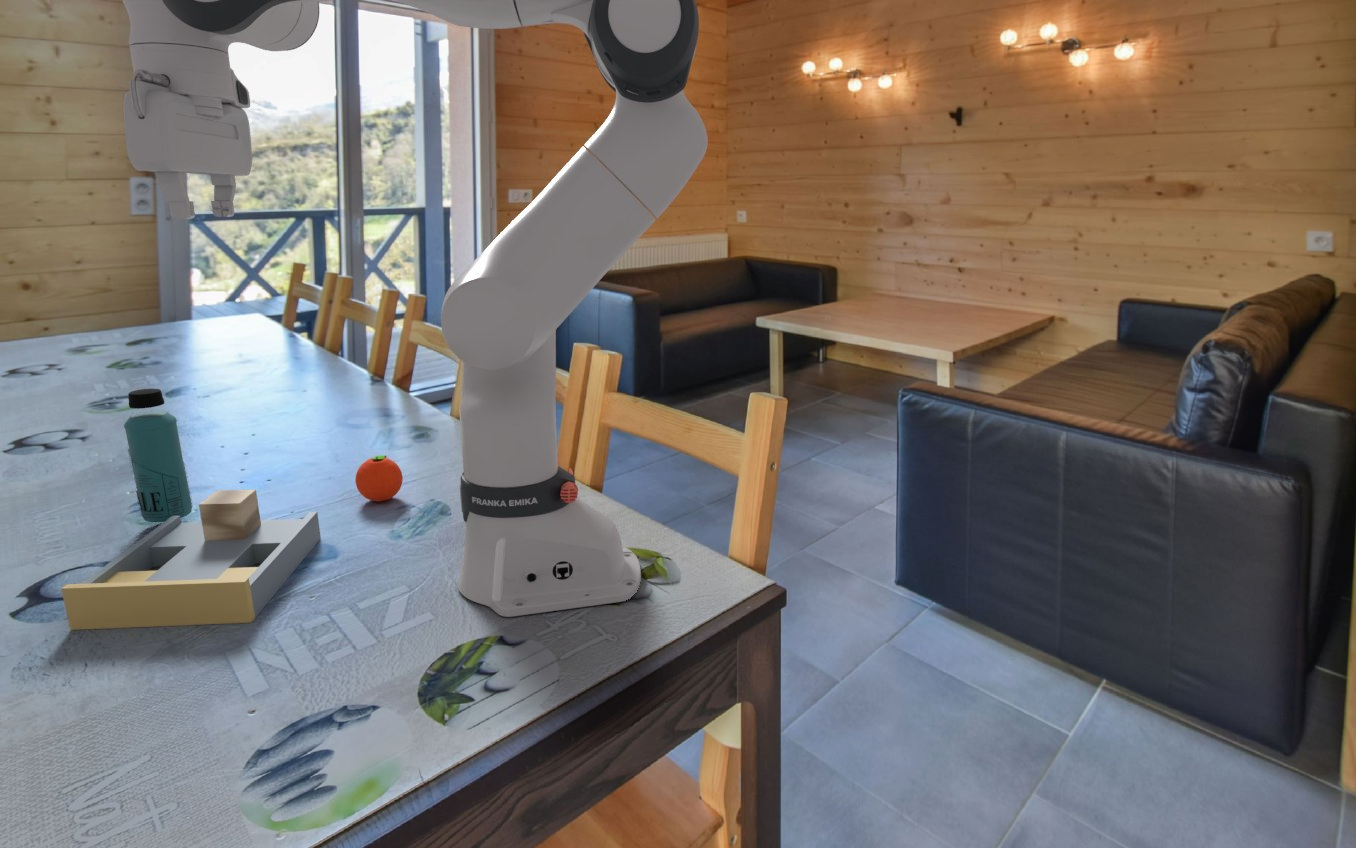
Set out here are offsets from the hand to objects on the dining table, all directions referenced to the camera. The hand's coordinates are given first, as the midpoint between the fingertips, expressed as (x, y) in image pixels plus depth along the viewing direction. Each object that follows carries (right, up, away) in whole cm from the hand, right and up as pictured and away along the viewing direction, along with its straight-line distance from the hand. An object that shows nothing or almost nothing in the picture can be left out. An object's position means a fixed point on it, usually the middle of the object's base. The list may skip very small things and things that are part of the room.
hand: (204, 217), depth 87 cm
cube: (-7, -37, +18) cm, 42 cm away
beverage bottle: (-22, -37, +29) cm, 52 cm away
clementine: (+5, -35, +39) cm, 52 cm away
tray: (-6, -42, +13) cm, 44 cm away
